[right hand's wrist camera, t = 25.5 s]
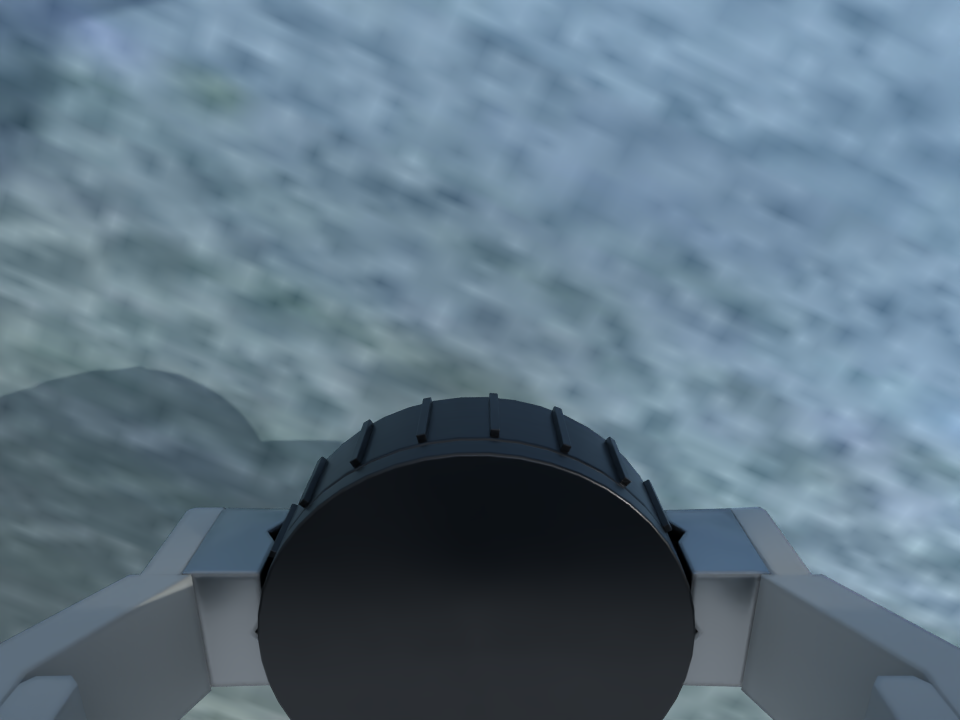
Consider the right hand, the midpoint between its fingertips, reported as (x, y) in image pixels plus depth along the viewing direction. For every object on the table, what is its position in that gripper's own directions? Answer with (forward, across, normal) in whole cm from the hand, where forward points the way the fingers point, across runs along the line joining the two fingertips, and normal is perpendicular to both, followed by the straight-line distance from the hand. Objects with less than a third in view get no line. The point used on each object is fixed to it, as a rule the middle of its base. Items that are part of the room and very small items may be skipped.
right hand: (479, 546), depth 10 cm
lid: (-2, 0, 0) cm, 2 cm away
